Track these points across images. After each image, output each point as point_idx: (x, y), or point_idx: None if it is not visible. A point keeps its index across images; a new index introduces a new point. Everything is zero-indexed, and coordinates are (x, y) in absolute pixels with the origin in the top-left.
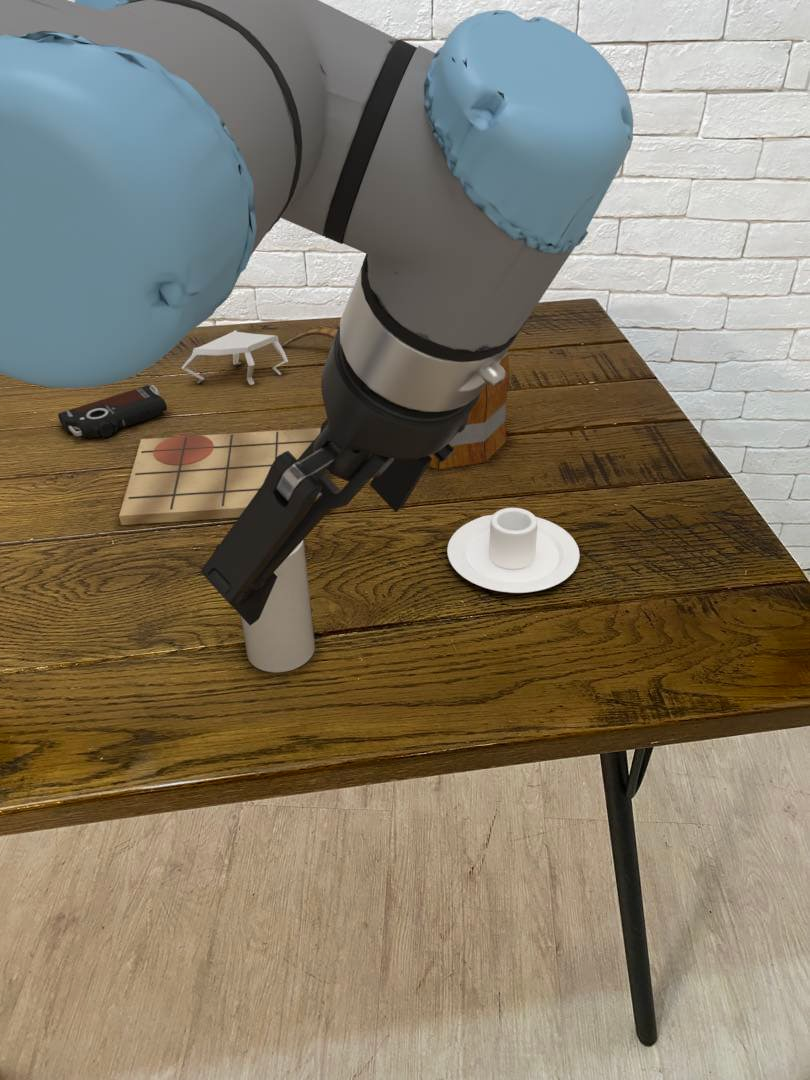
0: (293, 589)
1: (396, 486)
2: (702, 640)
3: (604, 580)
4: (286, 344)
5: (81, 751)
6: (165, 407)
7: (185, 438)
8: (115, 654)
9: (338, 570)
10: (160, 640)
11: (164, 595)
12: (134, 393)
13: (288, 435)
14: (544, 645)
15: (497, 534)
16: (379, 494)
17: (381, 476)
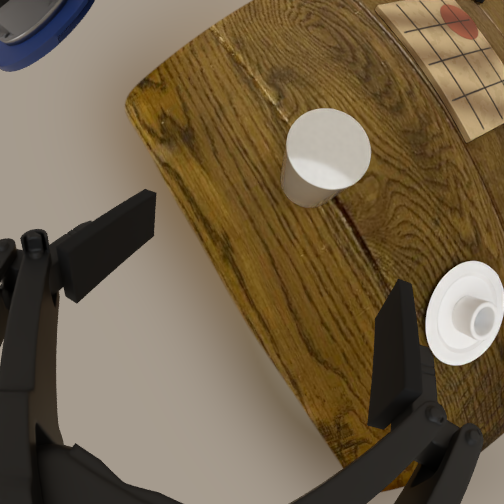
0: (308, 193)
1: (382, 338)
2: None
3: (452, 382)
4: None
5: (163, 107)
6: (481, 1)
7: (468, 19)
8: (252, 69)
9: (412, 182)
10: (279, 88)
11: (325, 66)
12: None
13: None
14: None
15: (470, 313)
16: (389, 294)
17: (395, 310)
